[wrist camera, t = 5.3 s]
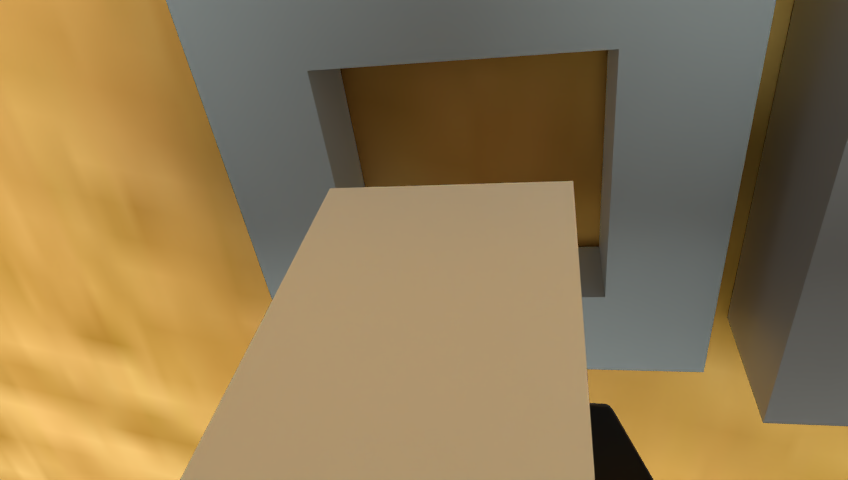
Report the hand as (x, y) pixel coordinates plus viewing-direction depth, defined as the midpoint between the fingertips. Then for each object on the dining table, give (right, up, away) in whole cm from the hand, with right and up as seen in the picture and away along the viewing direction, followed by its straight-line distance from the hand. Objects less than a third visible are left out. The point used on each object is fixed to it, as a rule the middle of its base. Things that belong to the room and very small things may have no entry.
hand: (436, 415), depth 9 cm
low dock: (+1, +5, +6) cm, 8 cm away
